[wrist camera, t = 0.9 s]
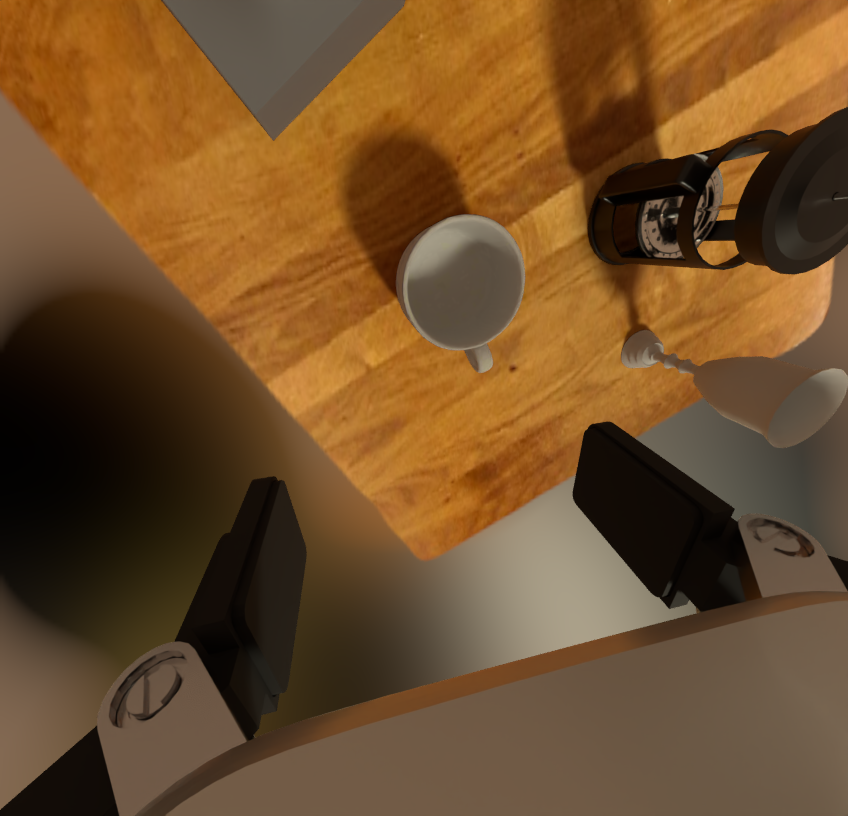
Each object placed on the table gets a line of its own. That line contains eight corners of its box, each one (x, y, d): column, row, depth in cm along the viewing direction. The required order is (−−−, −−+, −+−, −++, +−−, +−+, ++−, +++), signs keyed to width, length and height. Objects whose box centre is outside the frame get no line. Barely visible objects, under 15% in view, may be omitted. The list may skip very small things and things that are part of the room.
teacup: (381, 230, 31) (390, 226, 24) (489, 211, 33) (528, 202, 26) (407, 367, 38) (420, 395, 31) (496, 347, 39) (529, 369, 32)
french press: (688, 190, 35) (1140, 116, 15) (639, 279, 39) (954, 316, 19) (606, 137, 32) (1059, -54, 11) (559, 240, 35) (845, 233, 15)
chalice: (641, 381, 45) (797, 454, 30) (604, 368, 43) (751, 439, 27) (673, 330, 43) (863, 381, 27) (636, 313, 41) (819, 357, 25)
